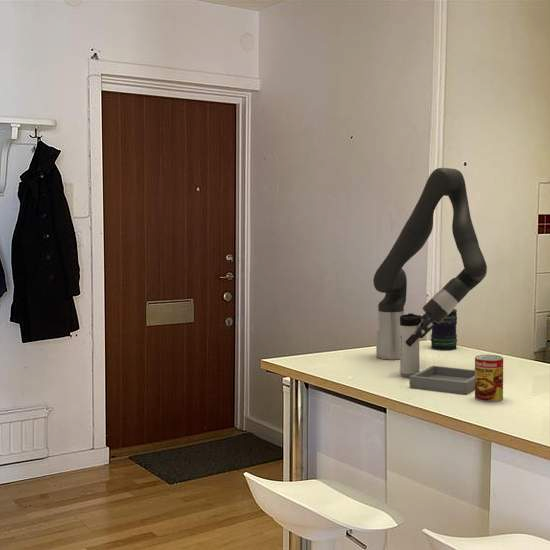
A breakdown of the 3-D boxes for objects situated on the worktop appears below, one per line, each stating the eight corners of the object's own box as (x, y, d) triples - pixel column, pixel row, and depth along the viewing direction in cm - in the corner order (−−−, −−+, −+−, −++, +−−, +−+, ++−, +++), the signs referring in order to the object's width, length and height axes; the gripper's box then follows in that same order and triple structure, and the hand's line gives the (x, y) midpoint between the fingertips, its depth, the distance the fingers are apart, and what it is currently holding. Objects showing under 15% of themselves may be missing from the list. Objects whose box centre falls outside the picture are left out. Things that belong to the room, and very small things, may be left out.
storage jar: (426, 347, 309) (425, 309, 307) (447, 345, 312) (447, 307, 311) (439, 351, 299) (439, 312, 298) (462, 349, 303) (462, 310, 302)
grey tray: (409, 387, 243) (409, 376, 243) (432, 376, 258) (432, 365, 257) (466, 394, 233) (466, 382, 233) (486, 382, 248) (486, 371, 248)
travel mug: (421, 373, 262) (420, 313, 260) (418, 377, 256) (417, 316, 254) (402, 372, 264) (401, 313, 262) (398, 376, 258) (398, 315, 256)
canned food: (469, 398, 228) (469, 357, 227) (483, 393, 234) (484, 353, 233) (493, 403, 223) (494, 361, 222) (508, 397, 228) (508, 356, 227)
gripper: (426, 295, 265) (392, 331, 265) (438, 300, 251) (401, 338, 251) (442, 310, 266) (407, 346, 266) (454, 316, 252) (418, 354, 252)
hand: (404, 342), depth 259 cm, fingers closed on travel mug, 6 cm apart
